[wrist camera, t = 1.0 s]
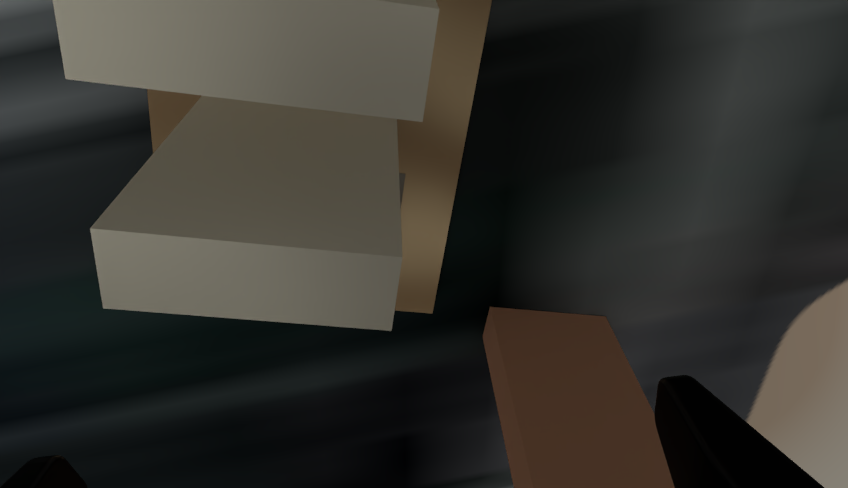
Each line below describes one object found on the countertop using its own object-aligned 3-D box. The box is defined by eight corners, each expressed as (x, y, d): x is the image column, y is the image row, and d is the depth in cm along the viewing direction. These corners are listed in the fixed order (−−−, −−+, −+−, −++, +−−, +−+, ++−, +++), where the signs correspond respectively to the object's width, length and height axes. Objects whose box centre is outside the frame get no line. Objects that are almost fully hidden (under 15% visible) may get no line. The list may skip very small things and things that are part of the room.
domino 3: (594, 345, 26) (695, 572, 18) (482, 336, 26) (530, 567, 17) (605, 316, 25) (717, 539, 17) (489, 306, 25) (544, 533, 16)
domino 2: (389, 132, 19) (391, 330, 11) (231, 113, 19) (103, 308, 10) (395, 83, 19) (402, 257, 10) (230, 62, 18) (90, 228, 10)
